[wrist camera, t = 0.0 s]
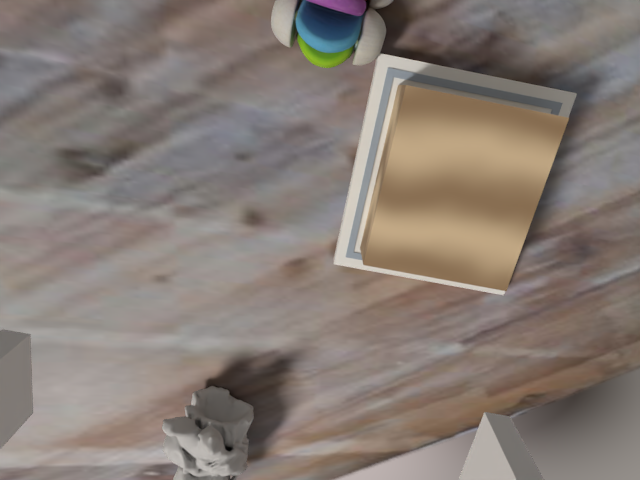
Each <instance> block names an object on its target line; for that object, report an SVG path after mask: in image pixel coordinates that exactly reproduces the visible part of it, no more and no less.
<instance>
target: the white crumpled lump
mask: <svg viewBox="0 0 640 480" xmlns="http://www.w3.org/2000/svg"><path fill="white" fill-rule="evenodd" d="M229 393H230V392H229V391H228V390H227V389H224V388H222V387H219V388H217V387H215V386H210V387H209V388H206V389H200V390H198V391H195V392H193V396H192V400H191V405H190V406H186V407H185V415H186V417H176V418H172V419H165V420H163V425H162V429H163V431H164V432H165V433H166V434H167V435H166V437H165V441H164V444H163V452H164V453H165V455H166V456H167V458H168V459H169V461H171V462H173V463H174V464H177V465H178V466H179V468H178V469H177V473H176V474H175V476H174V479H173V480H236V478H237V477H238V475H239V474H241V473H243V471H245V470H246V468H247V467H248V465H247V464H246V462H247V457H248V447H249V439H247V437H248V436H247V435H246V433H247V431H248V429H249V427H250V425H251V423H252V421H253V418H254V414H253V409H254V408H253V406H252V405H250V404H248V403H246V402H243V401H242V400H237V399H235V398H234V397H232V396H231V395H229ZM230 475H233V477H232V478H231V479H230Z"/></svg>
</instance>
